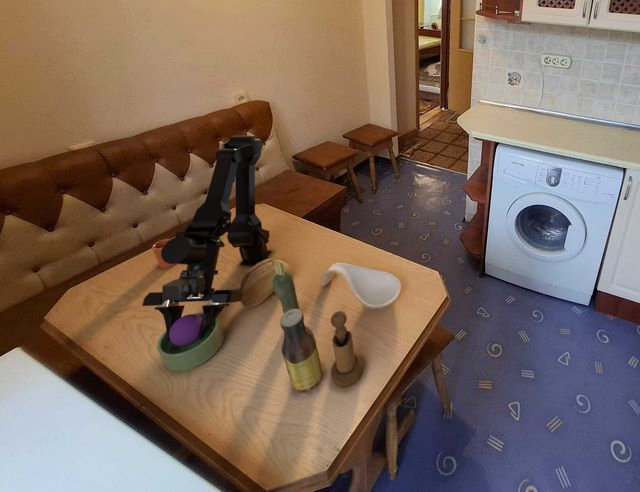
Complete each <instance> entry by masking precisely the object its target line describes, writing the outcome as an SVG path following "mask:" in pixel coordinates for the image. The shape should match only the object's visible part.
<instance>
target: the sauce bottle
mask: <svg viewBox="0 0 640 492" xmlns="http://www.w3.org/2000/svg"><path fill="white" fill-rule="evenodd" d="M279 323H280V327H281V329H282V330H283V336H284V337H283V341H282V344H281V355H282V358H283V361H284V363H285V367H286V370H287V374H288V377H289V381H290V383H291V386H292V387H293V389H294V390H295V391H296V392H299V393H300V394H301V393H302V394H305V393H308V392H310V391H313V390H314V389H316V388H317V387H318V386H319V384H320V382H321V381H322V378H323V374H324V373H323V365H322V361H321V357H320V352H319V348H318V343H317V340H316V337H315V334H314V332H313V330H312V329H311V328H309V327H308V326H306V324H305V317H304V312H303V311H302V310H301V309H300V308H299V309H291V310H289V311H287V312H286V313H285V314H284V313H283V315H281V317H280V320H279Z"/></svg>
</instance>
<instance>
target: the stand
mask: <svg viewBox="0 0 640 492" xmlns="http://www.w3.org/2000/svg"><path fill="white" fill-rule="evenodd" d="M170 239H171V238H164V239H160V240H158V241H156V242H155V243H154V244H152V246H151V249H152V252H153V254H154V256H155V259H156V261H157V263H158V266H159V267H160V268H161V269H168V268H170V267H174V266H175V265H176V264H169V263H166V262H165V261H164V260H163V259H162V256H161V251H162V248H163V247H164V246H165V244H166V243H167V242H168V241H169V240H170Z"/></svg>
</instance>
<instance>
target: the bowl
mask: <svg viewBox="0 0 640 492" xmlns="http://www.w3.org/2000/svg"><path fill="white" fill-rule="evenodd" d="M194 314H196V315H199V316H201V317H202V318H203V314H204V312H203V311H202V312H201V311H200V312H196V313H194ZM224 335H225V334H224V331H223V328H222V325H221V322H220V319H219V317H217V318H216V319H215V320H214V322H213V323H212V325H211V327H210V328H209V330H208V331H207V333H206V334H205V336H204V337H203V339H198V340H197V341H196V342H194V343H192V344H190V345H187V346H177V345H175V344H173V343H172V342H171V340H170V341H169V340H168V337H167V330H166V329H165V331H164V332H162V334H161V336H160V338H159V339H158V341H157V346H156V350H157V352H158V354H159V356H160V358H161V360H162V362H163V364H164V366H165V369H167V370H169V371H171V372H178V373H179V372H185V371H188V370H192V369H195V368H197V367H199V366H200V365H202V364H203V363H206V362H207V361H208V360H210V359H211V358H212V357H213V356H214V355H215V354H216V353H217V352H218V350H220V348H221V347H222V344H223V342H224V339H225V336H224Z"/></svg>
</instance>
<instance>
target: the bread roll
mask: <svg viewBox="0 0 640 492" xmlns="http://www.w3.org/2000/svg"><path fill="white" fill-rule="evenodd" d="M274 260H277V261H278V262H281V263H282V264H283V265H284V269H285V271H287V272H289V273H290V274H291V275H292V269H291V266H290V265H289V264H288V263H287V262H285V261H283V260H282V259H278V258H267V259H266V260H263V261H261V262H259V263H257V264H256V265H255V266H251V267H250V268H249V269H248V270H247V271H246V272H245V274H244V275H243V276H242V279H241V281H240V285H239V289H241V291H242V293H243V295H242V301H240V303H241V305H242V306H243V307H244V308H246V309H251V308H256V306H258V305H260V304H261V303H263V302H264V301H265V300H266V299H267V298H268V297H270V296H271V295H272V294H273V293H275V291H274V288H273V278H274V276H275V275H276V271H275V264H274V265H273V266H272V265H271V262H272V261H274Z"/></svg>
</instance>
